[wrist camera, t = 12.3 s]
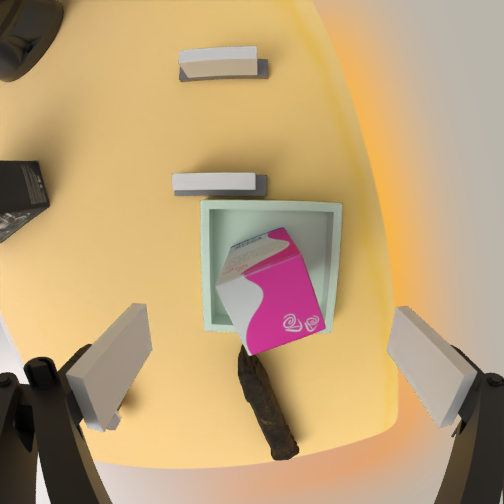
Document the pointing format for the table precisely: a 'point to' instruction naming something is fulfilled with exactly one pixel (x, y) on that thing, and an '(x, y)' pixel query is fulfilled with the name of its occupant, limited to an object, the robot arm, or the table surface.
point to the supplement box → (269, 292)
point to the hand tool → (265, 406)
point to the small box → (20, 195)
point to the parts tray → (262, 221)
